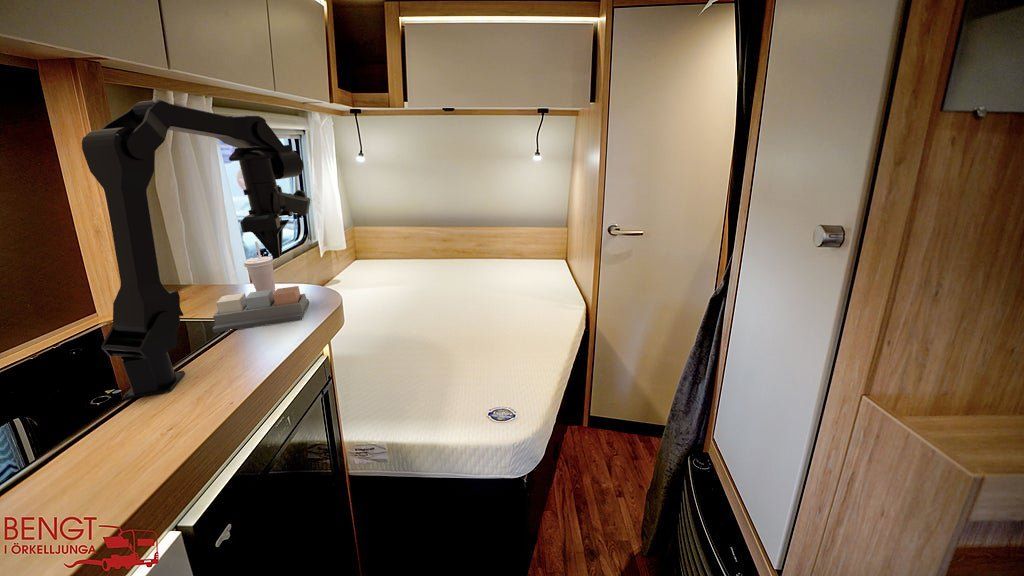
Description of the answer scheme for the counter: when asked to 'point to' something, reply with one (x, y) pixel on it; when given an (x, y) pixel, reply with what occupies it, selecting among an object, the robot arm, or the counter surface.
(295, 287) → the key terracotta
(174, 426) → the counter surface
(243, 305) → the key ivory
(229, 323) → the keypad
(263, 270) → the smoothie
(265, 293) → the key slate
